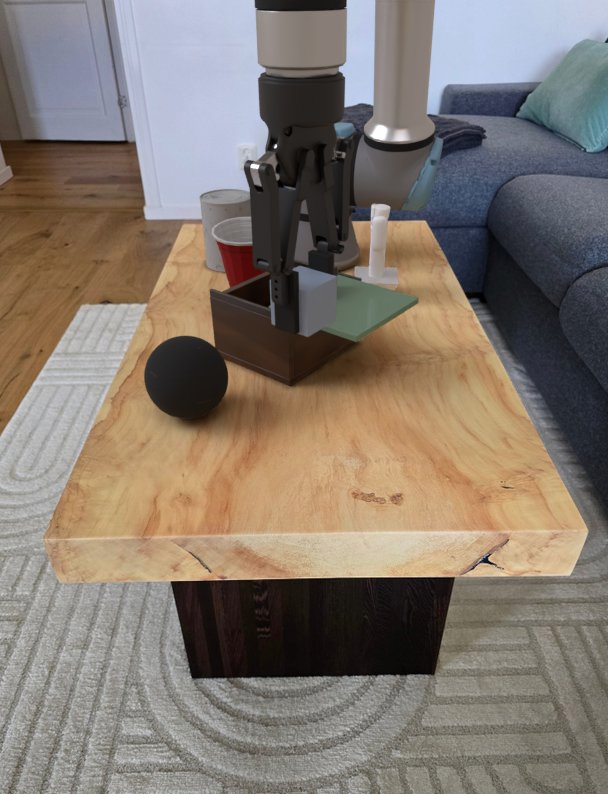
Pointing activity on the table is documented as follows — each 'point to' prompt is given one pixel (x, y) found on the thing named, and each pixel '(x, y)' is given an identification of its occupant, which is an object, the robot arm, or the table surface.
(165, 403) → the speaker
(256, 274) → the plastic cup
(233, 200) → the grey tin can
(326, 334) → the walnut box
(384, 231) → the figurine
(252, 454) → the table surface
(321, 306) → the block
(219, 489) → the table surface
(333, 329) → the slide door
